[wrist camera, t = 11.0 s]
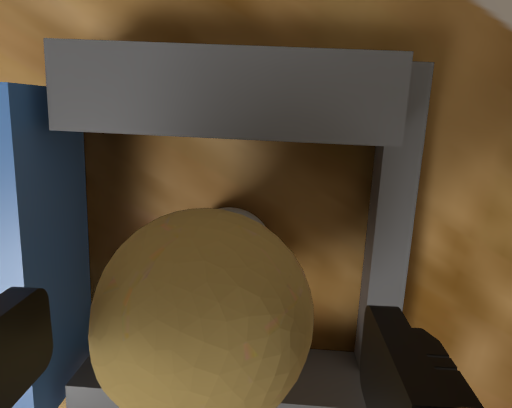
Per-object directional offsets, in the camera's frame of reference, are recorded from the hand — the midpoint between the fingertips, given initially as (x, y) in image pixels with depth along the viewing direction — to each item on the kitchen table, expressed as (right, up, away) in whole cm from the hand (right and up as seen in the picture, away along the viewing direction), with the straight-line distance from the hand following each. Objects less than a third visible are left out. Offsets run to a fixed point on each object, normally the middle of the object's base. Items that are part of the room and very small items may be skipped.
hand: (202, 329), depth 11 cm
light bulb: (0, +1, +9) cm, 9 cm away
